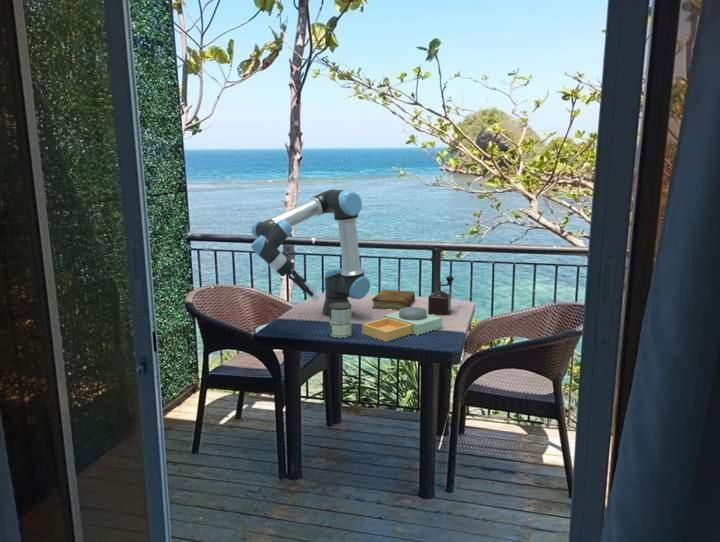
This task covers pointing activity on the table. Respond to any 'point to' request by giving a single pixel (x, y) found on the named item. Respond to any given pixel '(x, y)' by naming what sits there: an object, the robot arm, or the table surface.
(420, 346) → the table surface
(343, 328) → the coffee can
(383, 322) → the shallow square tray
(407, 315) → the block with grey dome
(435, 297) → the pepper mill
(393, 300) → the diary
